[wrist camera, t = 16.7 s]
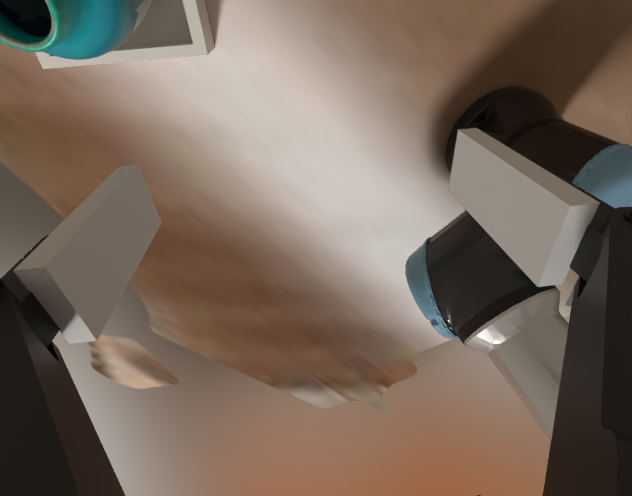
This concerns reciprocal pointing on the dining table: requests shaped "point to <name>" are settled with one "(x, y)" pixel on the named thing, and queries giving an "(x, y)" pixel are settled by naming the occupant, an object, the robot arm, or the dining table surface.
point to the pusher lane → (155, 36)
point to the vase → (69, 25)
